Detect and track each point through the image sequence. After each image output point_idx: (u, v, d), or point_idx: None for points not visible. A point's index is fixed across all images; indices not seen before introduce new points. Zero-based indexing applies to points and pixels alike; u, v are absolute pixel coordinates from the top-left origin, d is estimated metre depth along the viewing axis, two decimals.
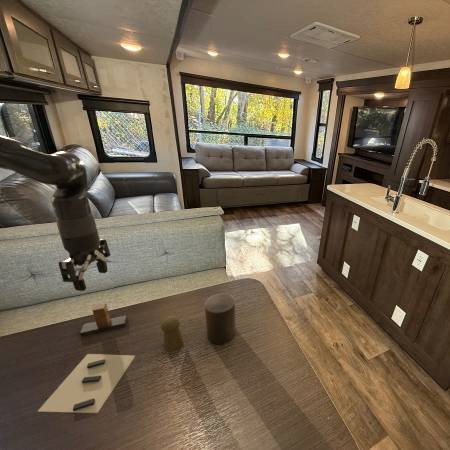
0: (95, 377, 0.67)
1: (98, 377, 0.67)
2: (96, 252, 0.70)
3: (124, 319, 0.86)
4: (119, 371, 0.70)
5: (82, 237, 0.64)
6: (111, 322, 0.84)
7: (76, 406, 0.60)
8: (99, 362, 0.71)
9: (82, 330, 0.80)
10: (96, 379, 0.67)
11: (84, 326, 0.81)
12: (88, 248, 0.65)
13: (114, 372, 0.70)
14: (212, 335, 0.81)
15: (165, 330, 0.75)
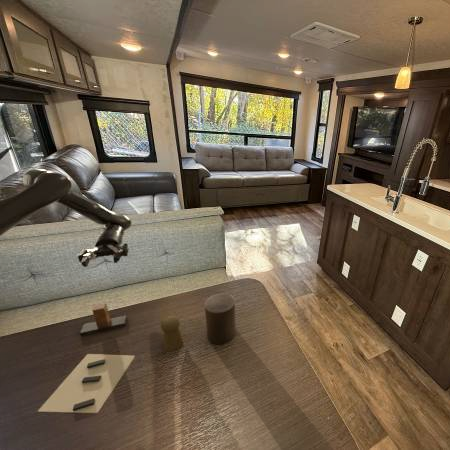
0: (95, 377, 0.67)
1: (98, 377, 0.67)
2: None
3: (124, 319, 0.86)
4: (119, 371, 0.70)
5: None
6: (111, 322, 0.84)
7: (76, 406, 0.60)
8: (99, 362, 0.71)
9: (82, 330, 0.80)
10: (96, 379, 0.67)
11: (84, 326, 0.81)
12: None
13: (114, 372, 0.70)
14: (212, 335, 0.81)
15: (165, 330, 0.75)
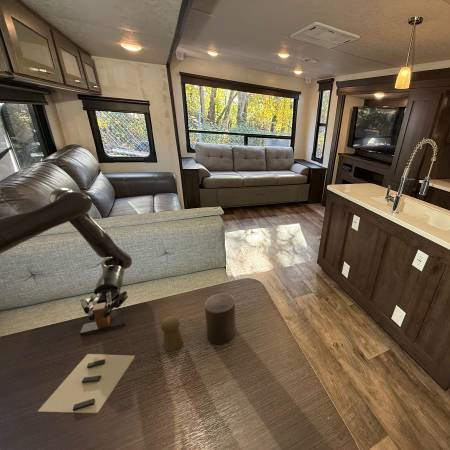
0: (95, 377, 0.67)
1: (98, 377, 0.67)
2: None
3: (124, 319, 0.86)
4: (119, 371, 0.70)
5: None
6: (111, 322, 0.84)
7: (76, 406, 0.60)
8: (99, 362, 0.71)
9: (82, 330, 0.80)
10: (96, 379, 0.67)
11: (84, 326, 0.81)
12: None
13: (114, 372, 0.70)
14: (212, 335, 0.81)
15: (165, 330, 0.75)
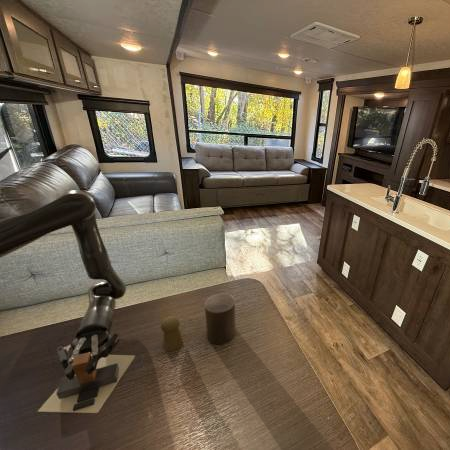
0: (92, 393, 0.63)
1: (95, 393, 0.64)
2: None
3: (114, 370, 0.68)
4: (119, 371, 0.70)
5: None
6: (98, 375, 0.66)
7: (76, 406, 0.60)
8: (92, 390, 0.64)
9: (59, 389, 0.62)
10: (94, 395, 0.63)
11: (62, 382, 0.63)
12: None
13: None
14: (212, 335, 0.81)
15: (165, 330, 0.75)
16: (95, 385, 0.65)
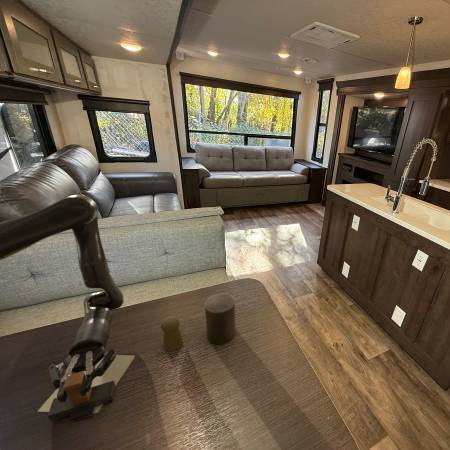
0: None
1: None
2: None
3: (111, 388, 0.63)
4: (119, 371, 0.70)
5: None
6: (92, 394, 0.61)
7: None
8: (86, 411, 0.60)
9: (51, 410, 0.57)
10: None
11: (54, 402, 0.59)
12: None
13: (114, 372, 0.70)
14: (212, 335, 0.81)
15: (165, 330, 0.75)
16: (90, 405, 0.60)
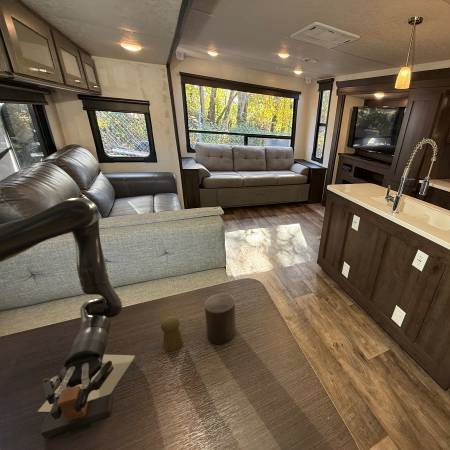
0: None
1: None
2: None
3: (108, 402, 0.60)
4: (119, 371, 0.70)
5: None
6: (89, 409, 0.58)
7: None
8: None
9: (44, 427, 0.55)
10: None
11: (48, 418, 0.56)
12: None
13: (114, 372, 0.70)
14: (212, 335, 0.81)
15: (165, 330, 0.75)
16: (86, 421, 0.57)
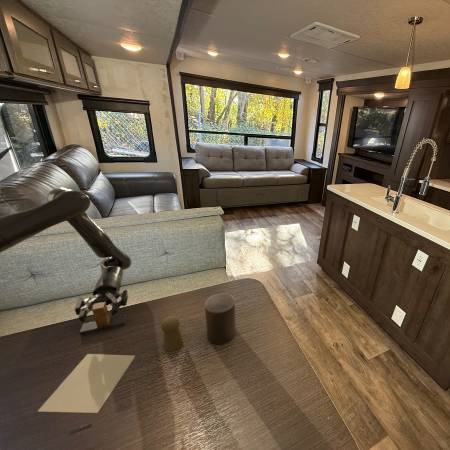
0: None
1: None
2: None
3: (124, 318, 0.86)
4: (119, 371, 0.70)
5: None
6: (111, 321, 0.84)
7: None
8: None
9: (82, 329, 0.80)
10: None
11: (84, 325, 0.82)
12: None
13: (114, 372, 0.70)
14: (212, 335, 0.81)
15: (165, 330, 0.75)
16: (109, 328, 0.83)
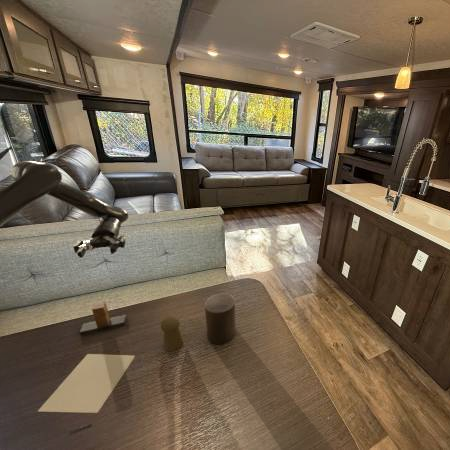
0: None
1: None
2: None
3: (124, 318, 0.86)
4: (119, 371, 0.70)
5: None
6: (111, 321, 0.84)
7: None
8: None
9: (82, 329, 0.80)
10: None
11: (84, 325, 0.82)
12: None
13: (114, 372, 0.70)
14: (212, 335, 0.81)
15: (165, 330, 0.75)
16: (109, 328, 0.83)
